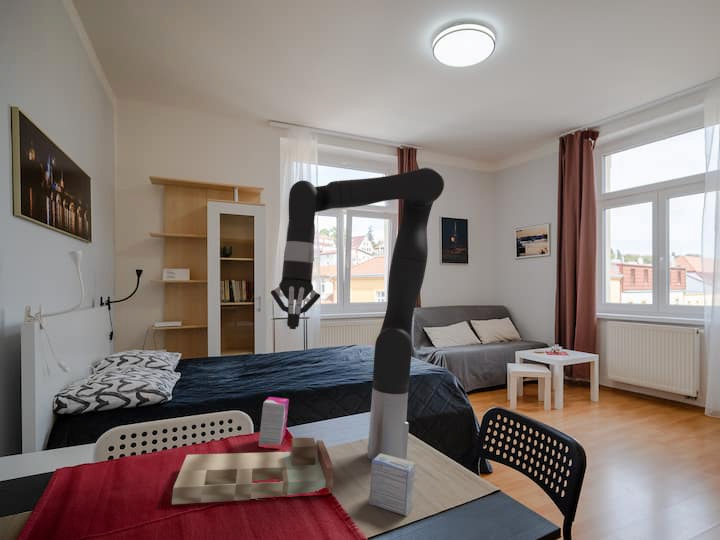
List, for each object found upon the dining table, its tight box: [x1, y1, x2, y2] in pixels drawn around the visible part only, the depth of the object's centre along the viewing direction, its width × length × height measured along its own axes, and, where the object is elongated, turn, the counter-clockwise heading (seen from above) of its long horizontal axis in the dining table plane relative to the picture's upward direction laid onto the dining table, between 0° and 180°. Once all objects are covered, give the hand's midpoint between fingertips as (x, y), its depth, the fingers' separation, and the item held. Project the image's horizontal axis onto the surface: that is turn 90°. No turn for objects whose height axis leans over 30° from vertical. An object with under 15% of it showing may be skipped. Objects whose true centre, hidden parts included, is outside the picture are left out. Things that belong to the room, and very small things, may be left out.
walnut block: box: [290, 437, 317, 466], centre depth 86 cm, size 5×5×4 cm
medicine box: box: [368, 453, 416, 517], centre depth 76 cm, size 8×4×9 cm, turn 65°
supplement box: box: [258, 396, 290, 445], centre depth 100 cm, size 6×6×12 cm
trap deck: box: [171, 439, 335, 505], centre depth 81 cm, size 30×14×6 cm, turn 105°
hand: (292, 328), depth 97 cm, fingers closed
